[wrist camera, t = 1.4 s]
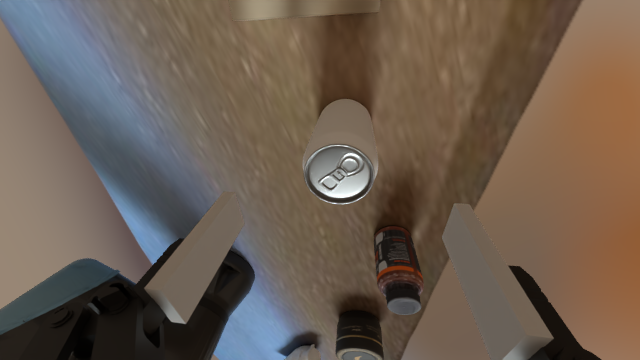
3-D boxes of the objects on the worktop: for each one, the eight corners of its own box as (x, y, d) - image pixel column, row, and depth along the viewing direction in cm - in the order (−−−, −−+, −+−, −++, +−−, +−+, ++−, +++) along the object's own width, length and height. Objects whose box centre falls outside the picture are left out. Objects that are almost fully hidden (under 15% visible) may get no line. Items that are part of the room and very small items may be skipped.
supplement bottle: (367, 231, 37) (370, 298, 28) (402, 219, 35) (419, 288, 25) (382, 253, 40) (390, 322, 30) (416, 243, 37) (437, 315, 28)
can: (382, 124, 27) (398, 177, 17) (344, 157, 30) (339, 219, 20) (344, 85, 25) (336, 120, 16) (308, 125, 29) (282, 176, 19)
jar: (343, 330, 57) (342, 368, 50) (331, 309, 52) (328, 348, 46) (384, 330, 54) (388, 369, 48) (375, 307, 49) (378, 348, 43)
